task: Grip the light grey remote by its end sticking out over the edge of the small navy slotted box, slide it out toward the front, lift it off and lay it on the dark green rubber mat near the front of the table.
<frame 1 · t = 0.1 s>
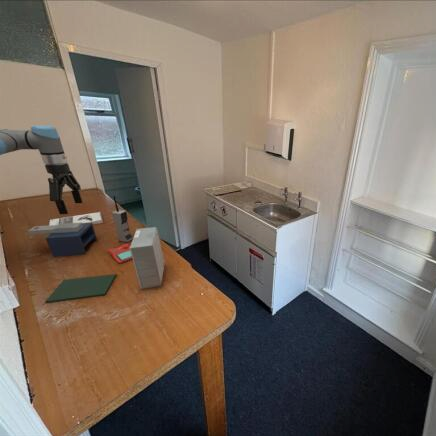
hand: (71, 208, 110), 19 cm above the table, tool pointing down, fingers open, 13 cm apart
remote: (57, 230, 109), point 10 cm above the table, touching navy slotted box
book: (77, 223, 137), on the table
hard drive box: (153, 276, 100), on the table
handheld gaming console: (124, 254, 113), on the table
vintage mobile phone: (126, 240, 124), on the table
navy slotted box: (76, 247, 114), on the table
mat: (84, 288, 91), on the table
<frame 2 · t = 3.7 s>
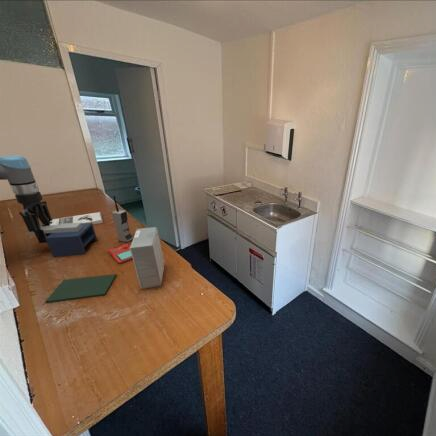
hand: (47, 239, 109), 6 cm above the table, tool pointing down, fingers closed on remote, 5 cm apart
remote: (57, 230, 109), point 10 cm above the table, touching gripper, navy slotted box
everything else where it was.
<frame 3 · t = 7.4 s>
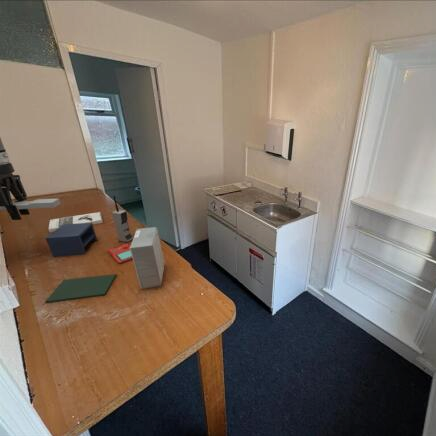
hand: (21, 216, 101), 19 cm above the table, tool pointing down, fingers closed on remote, 5 cm apart
remote: (32, 206, 100), point 23 cm above the table, touching gripper
everything else where it was.
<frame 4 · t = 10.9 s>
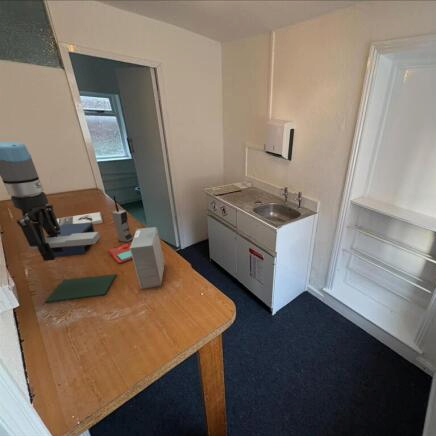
hand: (54, 255, 83), 16 cm above the table, tool pointing down, fingers closed on remote, 5 cm apart
remote: (67, 243, 82), point 20 cm above the table, touching gripper
everything else where it was.
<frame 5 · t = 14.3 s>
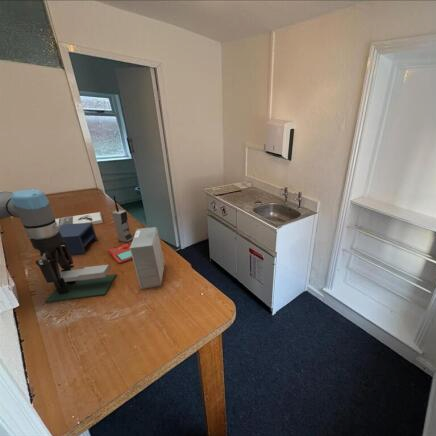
hand: (67, 287, 89), 1 cm above the table, tool pointing down, fingers closed on remote, 5 cm apart
remote: (80, 276, 89), point 6 cm above the table, touching gripper
everything else where it was.
when the fingers open (2 cm above the table, at t = 18.3 s): remote drops 6 cm, resting on mat.
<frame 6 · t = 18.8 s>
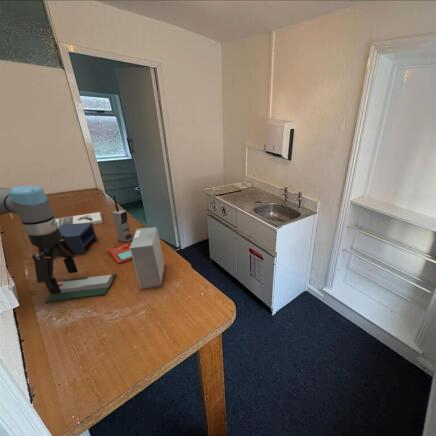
hand: (65, 282, 88), 4 cm above the table, tool pointing down, fingers open, 11 cm apart
remote: (83, 286, 90), point 1 cm above the table, touching mat
everything else where it was.
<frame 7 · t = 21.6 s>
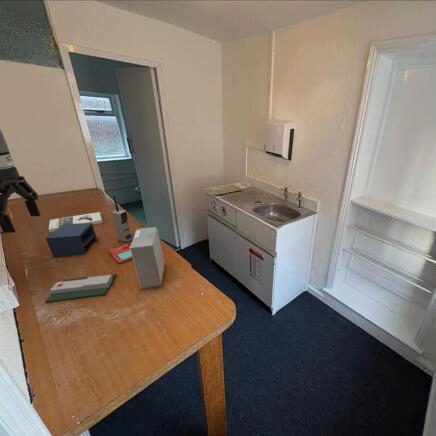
hand: (23, 223, 87), 23 cm above the table, tool pointing down, fingers open, 13 cm apart
nothing on the table moved.
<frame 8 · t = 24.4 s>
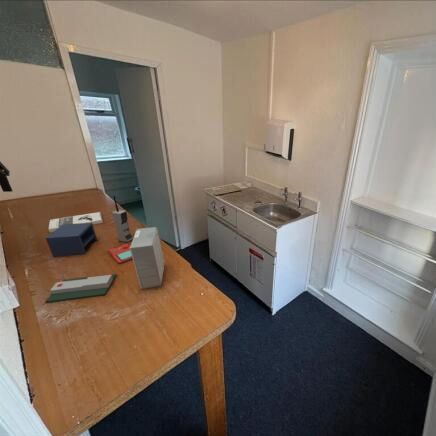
nothing on the table moved.
at the end: remote inside the target area on the mat (0.1 cm from its centre), point 0.8 cm above the mat's base; remote touching mat; the gripper is holding nothing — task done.
